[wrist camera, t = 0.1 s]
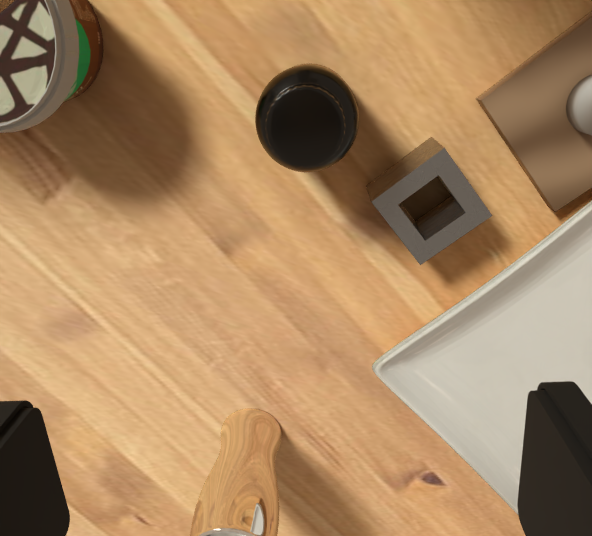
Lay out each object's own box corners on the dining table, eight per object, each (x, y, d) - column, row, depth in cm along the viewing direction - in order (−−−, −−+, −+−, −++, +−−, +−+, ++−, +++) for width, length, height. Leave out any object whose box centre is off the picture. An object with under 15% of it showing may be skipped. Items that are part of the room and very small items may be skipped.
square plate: (623, 151, 45) (649, 160, 41) (784, 370, 52) (819, 395, 48) (364, 349, 53) (368, 372, 49) (535, 518, 59) (548, 549, 56)
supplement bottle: (371, 108, 44) (388, 131, 33) (308, 169, 46) (305, 209, 35) (310, 41, 43) (306, 41, 31) (248, 107, 45) (224, 128, 33)
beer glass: (256, 391, 54) (235, 512, 40) (300, 439, 56) (294, 570, 42) (202, 426, 56) (164, 552, 42) (246, 471, 58) (223, 607, 44)
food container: (38, 148, 46) (-32, 174, 37) (-16, 83, 45) (-104, 93, 35) (153, 58, 43) (107, 62, 34) (100, -16, 42) (37, -32, 32)
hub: (366, 185, 46) (371, 201, 42) (431, 136, 45) (444, 147, 40) (410, 243, 48) (420, 265, 44) (475, 198, 46) (492, 215, 42)
